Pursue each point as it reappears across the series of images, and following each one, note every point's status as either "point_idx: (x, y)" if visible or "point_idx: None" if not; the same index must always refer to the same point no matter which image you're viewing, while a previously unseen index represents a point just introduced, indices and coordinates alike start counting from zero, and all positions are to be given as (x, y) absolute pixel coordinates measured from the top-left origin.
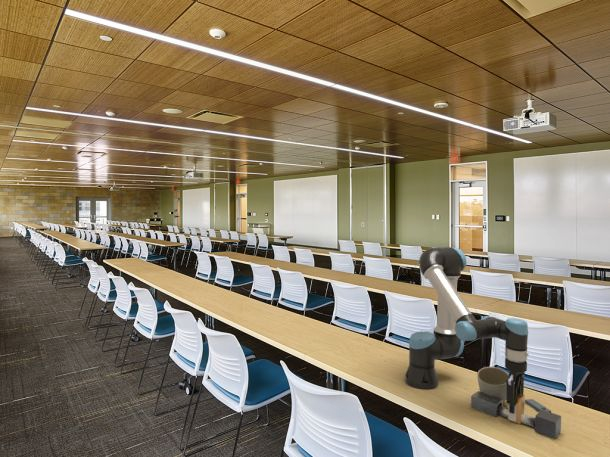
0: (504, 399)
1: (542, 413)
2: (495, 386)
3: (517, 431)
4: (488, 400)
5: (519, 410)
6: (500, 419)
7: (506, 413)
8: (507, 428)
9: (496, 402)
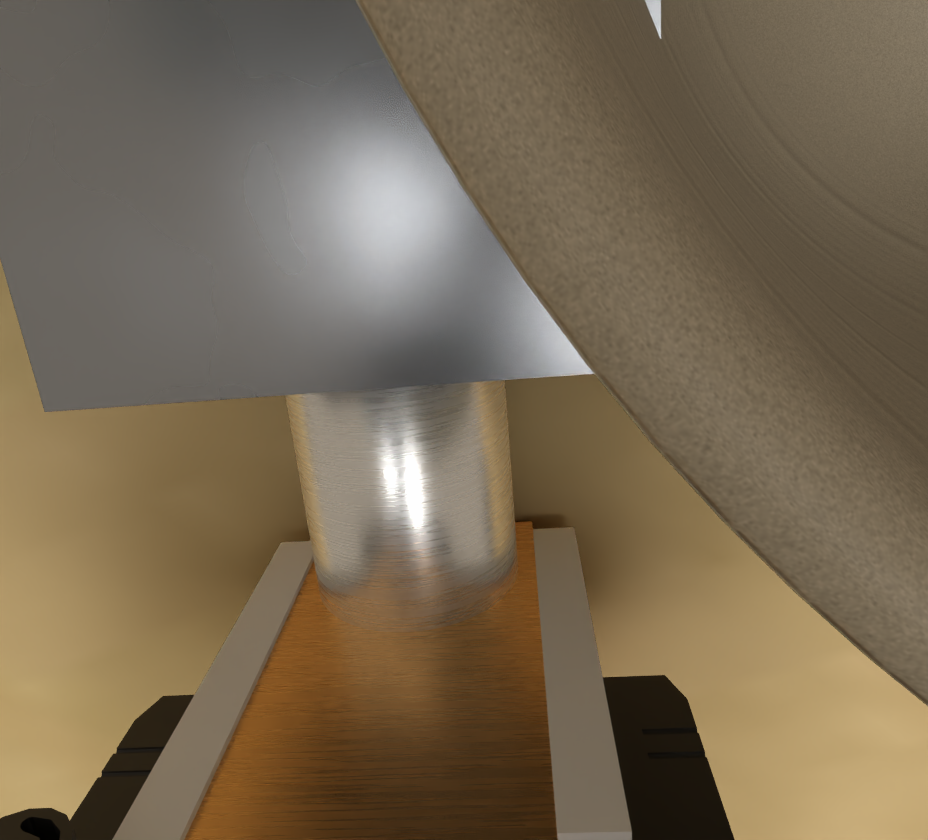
0: (918, 273)
1: None
2: (470, 118)
3: (96, 738)
4: (53, 61)
5: None
6: (218, 408)
7: (310, 527)
8: (31, 615)
9: (186, 344)
